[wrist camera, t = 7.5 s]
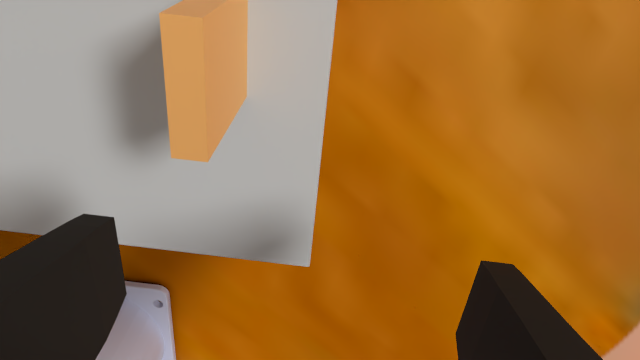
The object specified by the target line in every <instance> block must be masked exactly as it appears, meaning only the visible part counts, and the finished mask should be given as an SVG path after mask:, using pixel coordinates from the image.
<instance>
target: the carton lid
mask: <svg viewBox="0 0 640 360" xmlns="http://www.w3.org/2000/svg"><path fill="white" fill-rule="evenodd" d="M336 9H337V0H0V230H4V231H12V232H20V233H29V234H37V235H45V234H46V233H48V232H50V231H52V230H53V229H55V228H57V227H59V226H61V225H62V224H64V223H66V222H68V221H70V220H72V219H74V218H76V217H78V216H80V215H82V214H91V215H100V216H108V217H114V220H115V226H116V232H117V238H118V244H121V245H129V246H138V247H146V248H155V249H163V250H171V251H180V252H188V253H197V254H205V255H213V256H222V257H230V258H238V259H247V260H255V261H264V262H272V263H280V264H289V265H297V266H306V267H309V265H310V258H311V248H312V239H313V229H314V220H315V210H316V201H317V191H318V181H319V172H320V162H321V153H322V143H323V134H324V124H325V114H326V105H327V95H328V86H329V76H330V67H331V57H332V47H333V38H334V28H335V19H336Z"/></svg>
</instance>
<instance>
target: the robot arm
mask: <svg viewBox="0 0 640 360" xmlns="http://www.w3.org/2000/svg"><path fill="white" fill-rule="evenodd" d="M159 301H161V302H159ZM456 341H457V351H458V360H603V359H602V358H601V357H600V356H599V355H598V354H597V353H596V352H595V351H594V350H593V349H592V348H591V347H590V346H589V345H588V344H587V343H586V342H585V341H584V340H583V339H582V338H581V337H580V335H579V334H578V333H577V332H576V331H575V330H574V329H573V328H572V327H571V326H570V325H569V324H568V323H567V322H566V321H565V319H564V318H563V317H562V316H561V315H560V314H559V313H558V312H557V311H556V310H555V309H554V308H553V307H552V305H551V304H550V303H549V302H548V301H547V300H546V299H545V298H544V297H543V296H542V295H541V293H540V292H539V291H538V290H537V289H536V288H535V287H534V286H533V285H532V284H531V283H530V282H529V280H528V279H527V278H526V277H525V276H524V275H523V274H522V273H521V272H520V271H519V270H518V269H517V268H516V267H515V266H514V265H513V264H505V263H497V262H489V261H481V263H480V266H479V268H478V271H477V274H476V277H475V280H474V283H473V286H472V289H471V291H470V294H469V297H468V300H467V303H466V306H465V309H464V311H463V314H462V317H461V320H460V323H459V326H458V329H457V331H456ZM0 360H176V354H175V344H174V334H173V324H172V315H171V305H170V295H169V291H168V290H167V289H166V288H165V287H164V286H161V285H155V284H146V283H138V282H130V281H125V280H124V274H123V268H122V262H121V256H120V250H119V244H118V238H117V232H116V226H115V220H114V217H108V216H100V215H91V214H82V215H80V216H78V217H76V218H74V219H72V220H70V221H68V222H66V223H64V224H62V225H61V226H59V227H57V228H55V229H53V230H52V231H50V232H48V233H46V234H45V235H43V236H41V237H39V238H38V239H36V240H34V241H32V242H31V243H29V244H27V245H25V246H24V247H22V248H20V249H18V250H17V251H15V252H13V253H11V254H10V255H8V256H6V257H4V258H2V259H1V260H0Z"/></svg>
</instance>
